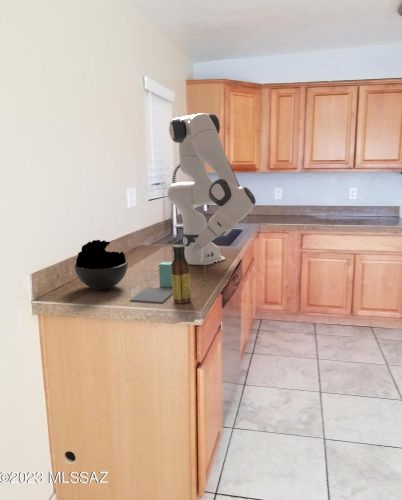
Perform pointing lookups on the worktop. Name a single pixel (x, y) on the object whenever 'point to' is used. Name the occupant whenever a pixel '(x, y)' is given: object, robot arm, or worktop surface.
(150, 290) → the rubber mat
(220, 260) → the robot arm
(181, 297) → the sauce bottle
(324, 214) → the worktop surface
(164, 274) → the teal block
